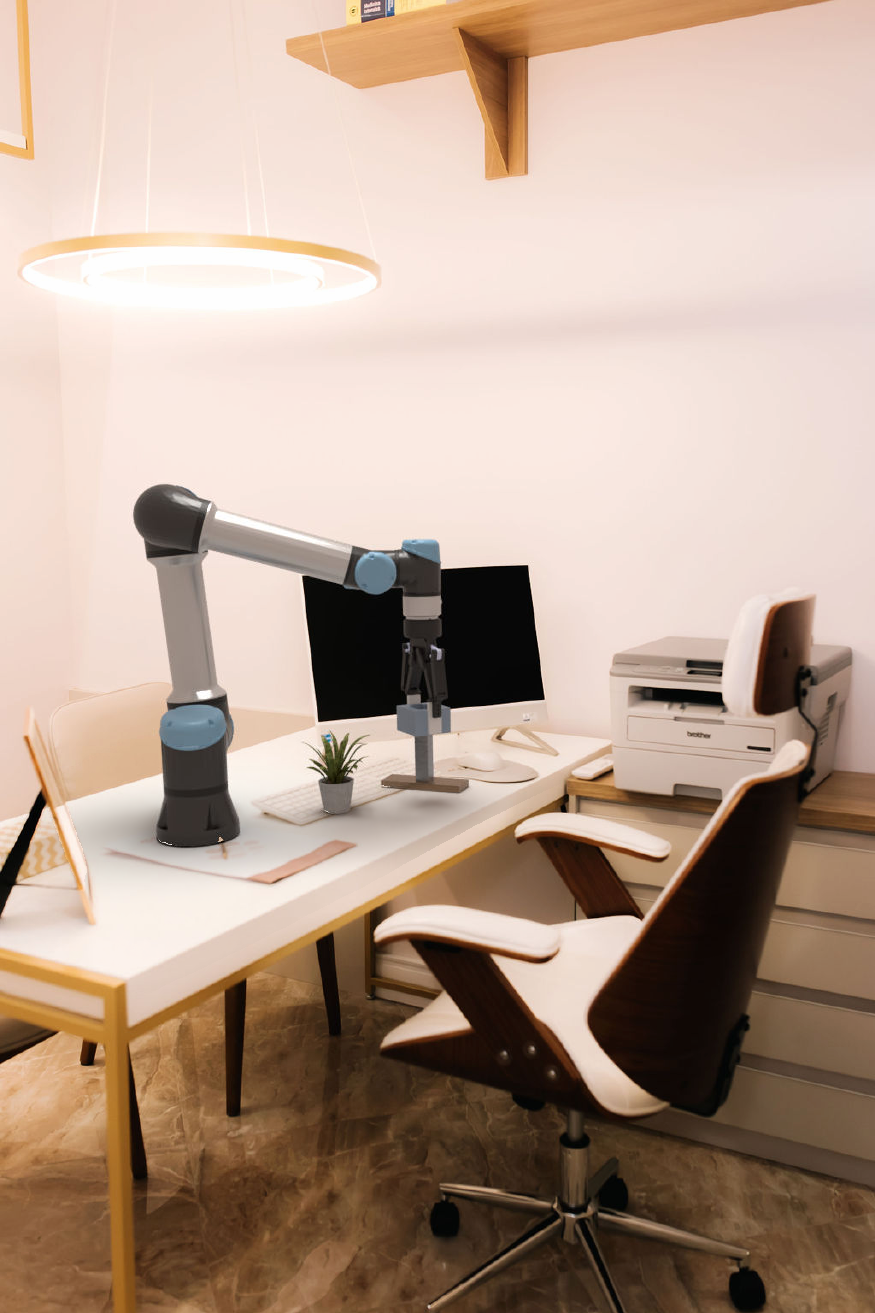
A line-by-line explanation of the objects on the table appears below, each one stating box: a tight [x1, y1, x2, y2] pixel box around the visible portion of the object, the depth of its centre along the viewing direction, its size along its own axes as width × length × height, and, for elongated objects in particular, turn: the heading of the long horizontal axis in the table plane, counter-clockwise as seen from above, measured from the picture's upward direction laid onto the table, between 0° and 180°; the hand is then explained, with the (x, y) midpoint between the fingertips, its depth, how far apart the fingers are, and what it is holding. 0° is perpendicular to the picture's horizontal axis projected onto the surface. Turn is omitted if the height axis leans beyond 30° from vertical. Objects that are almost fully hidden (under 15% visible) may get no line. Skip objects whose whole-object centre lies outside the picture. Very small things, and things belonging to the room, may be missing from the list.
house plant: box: [302, 729, 371, 815], centre depth 207 cm, size 14×14×16 cm
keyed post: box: [380, 735, 470, 794], centre depth 224 cm, size 6×18×14 cm, turn 69°
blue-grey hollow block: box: [396, 702, 452, 738], centre depth 210 cm, size 8×8×5 cm
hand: (424, 729), depth 210 cm, fingers closed on blue-grey hollow block, 8 cm apart
